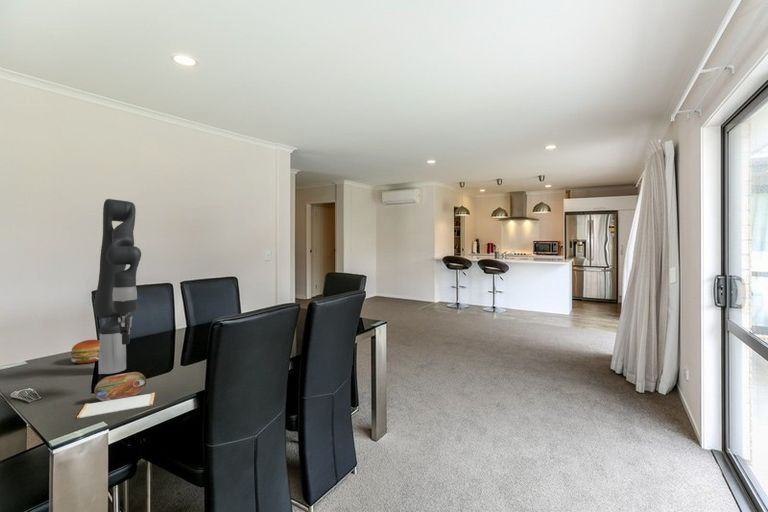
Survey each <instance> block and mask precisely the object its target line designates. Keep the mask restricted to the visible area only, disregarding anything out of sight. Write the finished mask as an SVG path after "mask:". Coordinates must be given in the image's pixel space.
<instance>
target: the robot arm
mask: <svg viewBox="0 0 768 512" xmlns="http://www.w3.org/2000/svg"><path fill="white" fill-rule="evenodd" d="M104 200H105V201H104V203H103V207H102V209H103V210H102V238H101V239H102V240H101V247H100V256H99V273H98V282H97V283H98V284H97V288H96V293H95V298H94V302H93V303H94V305H93V307H94V308H93V311H94V314H95V316H96V317H98V318H99V319H106V318H107V319H108V318H110V319H108V321H107V322H105V323H104V324H102V325H101V326H100V327H99V332H98V333H99V340H100V351H99V353H98V357H99V360H98V375H111V374H115V373H121V372H123V371H125V370H127V345H129V344H130V342H131V341H130V333H131V331H132V329H131V328H132V326H133V325H132V322H133V321H132V320H133V315H132V314H131V312H134V311H137V310H138V292H137V291H138V290H137V270H138V267H139V264H140V261H141V259H142V252H141V249H140V248H139V247H138V246H135V237H134V230H135V222H136V213H137V212H136V211H137V209H136V205H135V204H134V202H132V201H129V200H128V201H127V200H121V199H113V198H107V199H104ZM113 222H120V224H118V225H117V226H116V227H115V228H114V225H113ZM127 265H129V267H128V268H127ZM126 268H127V269H126Z"/></svg>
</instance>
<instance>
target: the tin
mask: <svg viewBox="0 0 768 512" xmlns="http://www.w3.org/2000/svg"><path fill="white" fill-rule="evenodd" d="M146 386H147V378H146V376H145V375H144V374H143V373H141V372H138V371H132V372H126V373H120V374H114V375H109V376H105V377H103V378H102V379H101V380H99V381H98V382H97V384H96V385H95V387H94V391H93V392H94V393H93V394H94V396H95V397H96V399H97V400H99V401H100V402H103V401H109V400H115V399H122V398H128V397H134V396H138V395H140V393H141V392H143V391H144V390H145V388H146Z"/></svg>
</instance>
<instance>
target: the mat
mask: <svg viewBox="0 0 768 512" xmlns="http://www.w3.org/2000/svg"><path fill="white" fill-rule="evenodd" d="M155 396H156V392H151V393H147V394H141V395H140V394H139V395H135V396H130V397H125V398H121V399H115V400H109V401H97V402H92V403H91V402H90V403H88V402H87V403H84V405H83V408H82V409H81V410H80V412H79V414H78V415H77V416H76V419H78V420H79V419H81V418H87V417H93V416H99V415H103V414H104V415H105V414H110V413H117V412H121V411H127V410H132V409H134V410H135V409H139V408H144V407H150V406H153V404H154V399H155Z"/></svg>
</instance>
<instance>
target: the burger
mask: <svg viewBox="0 0 768 512" xmlns="http://www.w3.org/2000/svg"><path fill="white" fill-rule="evenodd" d="M99 351H100V339H99V340H98V339H86V340H83V341H80V342H78V343H76V344H74V346H72V348H71V352H70V354H71V359H70V360H71V362H72V363H74V364H89V363H94V362H99V357H98V353H99Z"/></svg>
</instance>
